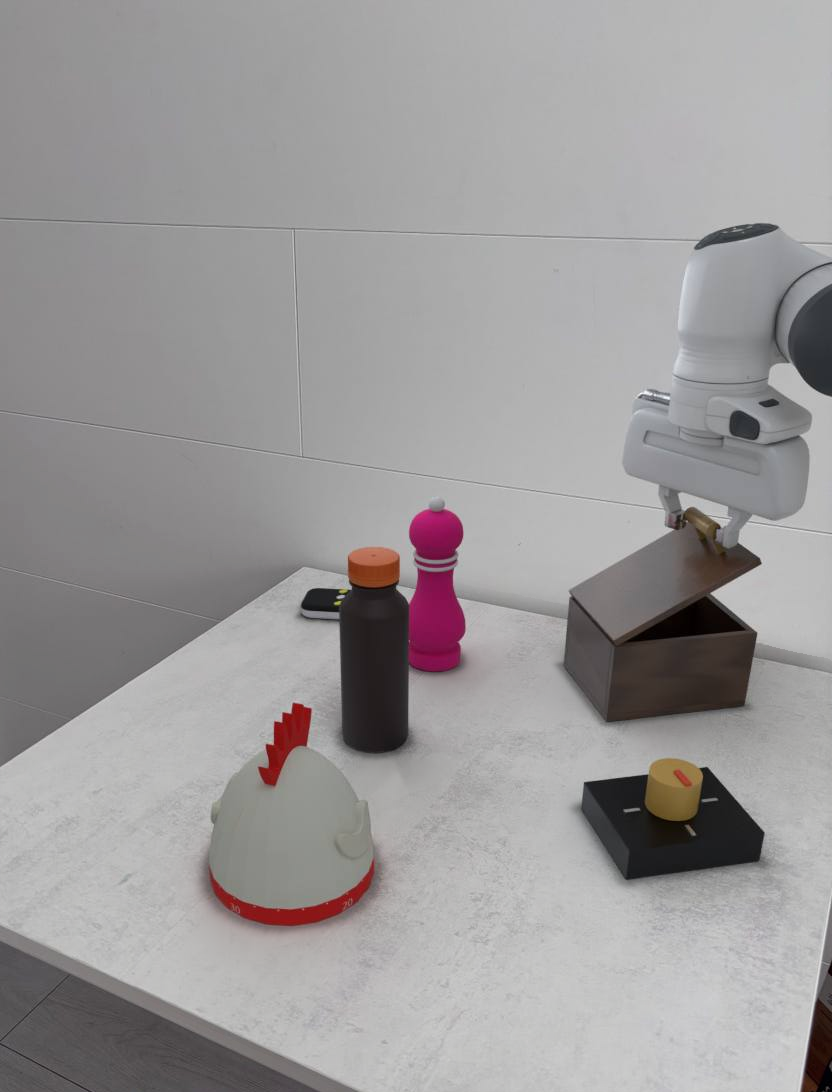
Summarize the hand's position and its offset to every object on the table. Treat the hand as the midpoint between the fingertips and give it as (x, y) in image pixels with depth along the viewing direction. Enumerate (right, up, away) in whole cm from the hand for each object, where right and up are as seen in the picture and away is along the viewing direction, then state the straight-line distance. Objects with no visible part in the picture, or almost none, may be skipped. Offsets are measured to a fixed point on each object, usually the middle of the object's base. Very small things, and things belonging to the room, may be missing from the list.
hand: (700, 536), depth 106 cm
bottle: (-34, -21, -1) cm, 40 cm away
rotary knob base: (-8, -28, -16) cm, 33 cm away
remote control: (-36, -7, +26) cm, 45 cm away
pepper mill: (-27, -13, +14) cm, 33 cm away
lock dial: (-8, -25, -17) cm, 32 cm away
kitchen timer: (-41, -30, -19) cm, 55 cm away
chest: (-3, -16, +7) cm, 18 cm away
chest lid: (-4, -5, +2) cm, 6 cm away
